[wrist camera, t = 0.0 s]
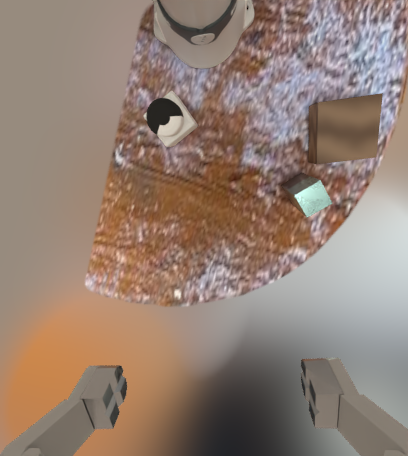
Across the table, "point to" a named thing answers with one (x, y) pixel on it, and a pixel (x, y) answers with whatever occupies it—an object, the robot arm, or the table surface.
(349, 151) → the walnut stand
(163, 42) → the robot arm
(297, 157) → the table surface
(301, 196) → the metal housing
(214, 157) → the table surface
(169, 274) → the table surface
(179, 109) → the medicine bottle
